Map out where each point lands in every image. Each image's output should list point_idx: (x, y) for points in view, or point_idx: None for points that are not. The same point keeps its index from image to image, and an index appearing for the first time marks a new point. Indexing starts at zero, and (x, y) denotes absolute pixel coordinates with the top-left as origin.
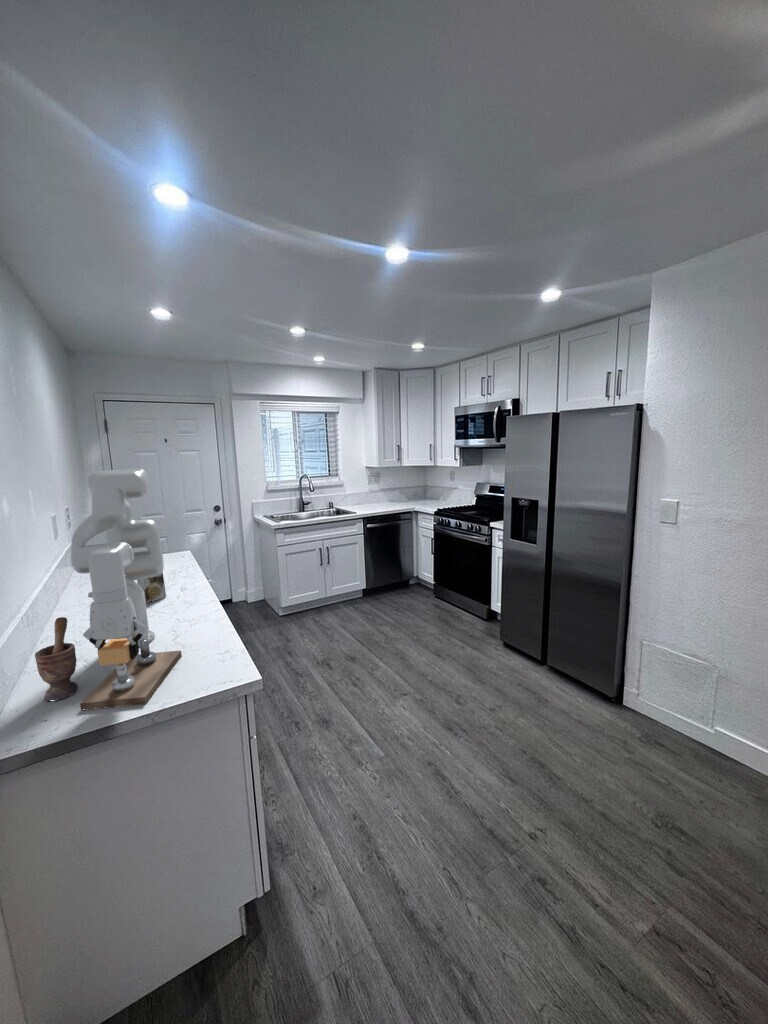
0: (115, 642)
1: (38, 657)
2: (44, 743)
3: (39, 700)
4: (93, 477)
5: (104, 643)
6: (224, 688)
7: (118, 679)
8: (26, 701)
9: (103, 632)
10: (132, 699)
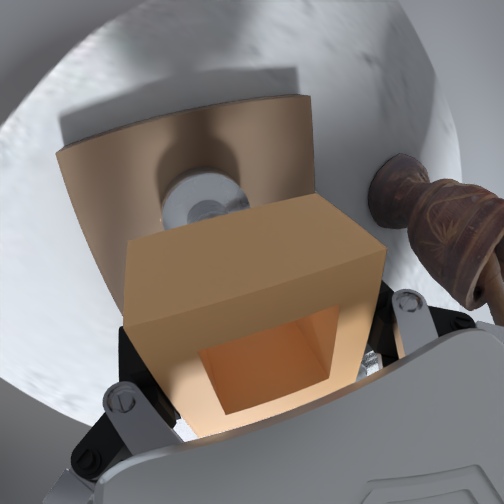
0: (315, 374)
1: None
2: None
3: (426, 163)
4: None
5: (375, 342)
6: None
7: (217, 207)
8: (444, 162)
9: (444, 438)
10: (104, 134)
